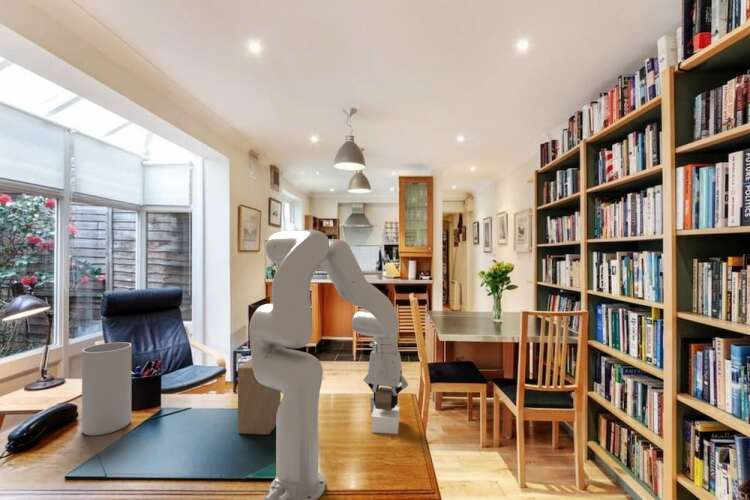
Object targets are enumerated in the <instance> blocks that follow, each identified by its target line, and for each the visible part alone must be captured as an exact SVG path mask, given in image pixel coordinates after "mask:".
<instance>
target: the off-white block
mask: <svg viewBox="0 0 750 500" xmlns="http://www.w3.org/2000/svg"><path fill="white" fill-rule="evenodd" d="M371 413H372V414H371V419H370V420H371V422H370V424H371V425H370V427H371V428H370V429H371V430H370V431H371V433H375V434H377V433H378V434H390V435H393V434H394V435H398V434H399V427H400V426H399V425H400V406H395V407H394V409H392V410H391V411H388V410H382V409H376V408H375V406H374V410H373V412H371Z"/></svg>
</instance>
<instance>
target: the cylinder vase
mask: <svg viewBox="0 0 750 500" xmlns="http://www.w3.org/2000/svg"><path fill="white" fill-rule="evenodd" d="M132 349H133V348H132V343H131V342H126V341H125V342H124V341H123V342H121V341H119V342H107V343H100V344H99V343H98V344H95V345H91V346H87V347H85V348H83V349H82V351H81V353H82V354H81V374H82V375H81V432H82V433H83V434H84V435H87V436H92V437H93V436H104V435H106V434H112V433H114V432H117V431H120V430H122V429H123V428H126V427H127V426H128V425H129V424H130V423H131V421H132V358H133V357H132V351H133V350H132Z"/></svg>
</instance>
